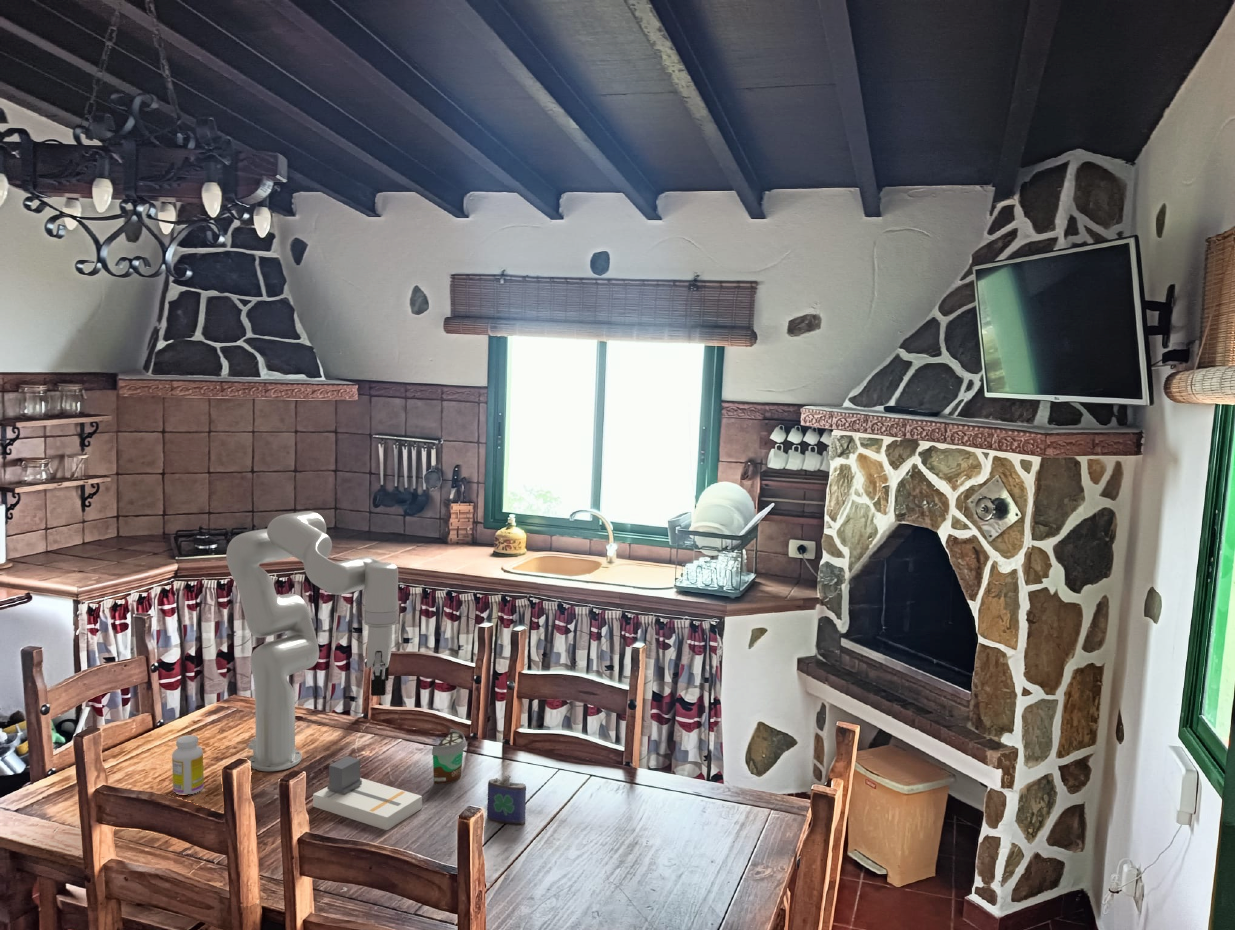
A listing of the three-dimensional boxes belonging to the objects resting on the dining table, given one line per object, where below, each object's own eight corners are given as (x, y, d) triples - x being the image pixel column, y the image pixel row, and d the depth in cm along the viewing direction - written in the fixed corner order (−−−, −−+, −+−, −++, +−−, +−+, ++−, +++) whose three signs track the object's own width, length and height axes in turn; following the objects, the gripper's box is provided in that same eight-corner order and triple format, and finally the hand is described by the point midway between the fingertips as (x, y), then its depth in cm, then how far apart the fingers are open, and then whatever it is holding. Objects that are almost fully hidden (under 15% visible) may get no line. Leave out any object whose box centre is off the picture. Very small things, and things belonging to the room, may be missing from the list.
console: (313, 806, 216) (313, 793, 216) (349, 786, 227) (349, 774, 226) (387, 830, 206) (387, 817, 206) (421, 808, 217) (421, 795, 217)
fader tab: (327, 789, 218) (327, 764, 217) (345, 779, 223) (345, 755, 222) (343, 794, 216) (343, 769, 215) (361, 784, 221) (361, 760, 220)
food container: (455, 789, 227) (455, 749, 226) (431, 786, 228) (431, 747, 227) (472, 768, 239) (473, 730, 238) (450, 765, 240) (450, 728, 239)
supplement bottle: (205, 783, 226) (204, 732, 225) (202, 795, 220) (201, 742, 219) (175, 786, 224) (174, 734, 223) (170, 798, 218) (169, 745, 217)
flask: (527, 821, 212) (527, 776, 211) (522, 827, 210) (523, 781, 208) (489, 814, 215) (490, 770, 214) (484, 820, 212) (484, 775, 211)
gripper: (367, 606, 224) (366, 675, 226) (360, 627, 207) (359, 701, 209) (399, 606, 225) (398, 675, 227) (395, 627, 208) (393, 701, 210)
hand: (379, 687), depth 218 cm, fingers open, 9 cm apart
